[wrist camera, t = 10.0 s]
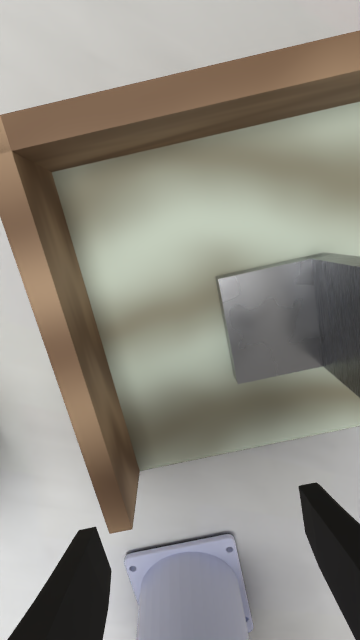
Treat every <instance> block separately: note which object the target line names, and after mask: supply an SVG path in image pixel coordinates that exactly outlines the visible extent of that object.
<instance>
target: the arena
mask: <svg viewBox="0 0 360 640" xmlns="http://www.w3.org/2000/svg"><path fill="white" fill-rule="evenodd" d="M0 217H1V220H2V223H3V226H4V228H5V231H6V234H7V237H8V240H9V243H10V246H11V249H12V252H13V255H14V258H15V260H16V263H17V266H18V269H19V272H20V275H21V278H22V281H23V284H24V287H25V289H26V292H27V295H28V298H29V301H30V304H31V307H32V310H33V313H34V316H35V318H36V321H37V324H38V327H39V330H40V333H41V336H42V339H43V342H44V345H45V348H46V350H47V353H48V356H49V359H50V362H51V365H52V368H53V371H54V374H55V377H56V379H57V382H58V385H59V388H60V391H61V394H62V397H63V400H64V403H65V406H66V409H67V411H68V414H69V417H70V420H71V423H72V426H73V429H74V432H75V435H76V438H77V440H78V443H79V446H80V449H81V452H82V455H83V458H84V461H85V464H86V467H87V470H88V472H89V475H90V478H91V481H92V484H93V487H94V490H95V493H96V496H97V499H98V501H99V504H100V507H101V510H102V513H103V516H104V519H105V522H106V525H107V528H108V531H109V533H110V534H111V533H116V532H121V531H126V530H131V529H132V528H133V520H134V512H135V504H136V496H137V488H138V480H139V472H140V471H143V470H148V469H152V468H157V467H162V466H167V465H172V464H177V463H182V462H187V461H191V460H196V459H201V458H206V457H211V456H216V455H221V454H226V453H230V452H235V451H240V450H245V449H250V448H255V447H260V446H265V445H269V444H274V443H279V442H284V441H289V440H294V439H299V438H304V437H308V436H313V435H318V434H323V433H328V432H333V431H338V430H343V429H348V428H352V427H357V426H360V398H359V397H358V396H357V395H356V394H355V393H353V392H352V391H351V390H350V389H349V388H348V387H346V386H345V385H344V384H343V383H342V382H341V381H339V380H338V379H337V378H336V377H335V376H334V375H332V374H331V373H330V372H329V371H328V370H327V369H325V368H324V367H323V366H322V367H318V368H313V369H308V370H304V371H299V372H294V373H289V374H285V375H280V376H275V377H271V378H266V379H261V380H256V381H252V382H247V383H242V384H237V382H236V379H235V377H234V375H233V369H232V364H231V359H230V353H229V348H228V343H227V337H226V332H225V327H224V322H223V316H222V311H221V306H220V300H219V295H218V290H217V284H216V279H215V276H219V275H223V274H228V273H232V272H237V271H241V270H246V269H250V268H255V267H260V266H264V265H269V264H273V263H278V262H282V261H287V260H291V259H296V258H300V257H305V256H309V255H314V254H318V253H323V252H326V253H334V254H343V255H352V256H360V31H356V32H351V33H347V34H343V35H339V36H334V37H330V38H326V39H322V40H317V41H313V42H309V43H305V44H300V45H296V46H292V47H287V48H283V49H279V50H275V51H270V52H266V53H262V54H258V55H253V56H249V57H245V58H241V59H236V60H232V61H228V62H224V63H219V64H215V65H211V66H207V67H202V68H198V69H194V70H190V71H185V72H181V73H177V74H173V75H168V76H164V77H160V78H156V79H151V80H147V81H143V82H139V83H134V84H130V85H126V86H122V87H117V88H113V89H109V90H105V91H100V92H96V93H92V94H88V95H83V96H79V97H75V98H71V99H66V100H62V101H58V102H54V103H49V104H45V105H41V106H37V107H32V108H28V109H24V110H20V111H15V112H11V113H7V114H2V115H0Z"/></svg>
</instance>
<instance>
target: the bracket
mask: <svg viewBox="0 0 360 640" xmlns="http://www.w3.org/2000/svg"><path fill="white" fill-rule="evenodd" d="M215 279H216V284H217V290H218V295H219V300H220V306H221V311H222V316H223V322H224V327H225V332H226V337H227V343H228V348H229V353H230V359H231V364H232V369H233V375H234V377H235V379H236V382H237V384H242V383H247V382H252V381H256V380H261V379H266V378H271V377H275V376H280V375H285V374H289V373H294V372H299V371H304V370H308V369H313V368H318V367H322V366H323V367H324V368H325V369H327V370H328V371H329V372H330V373H331V374H332V375H334V376H335V377H336V378H337V379H338V380H339V381H341V382H342V383H343V384H344V385H345V386H346V387H348V388H349V389H350V390H351V391H352V392H353V393H355V394H356V395H357V396H358V397H359V398H360V256H352V255H343V254H334V253H326V252H323V253H318V254H314V255H309V256H305V257H300V258H296V259H291V260H287V261H282V262H278V263H273V264H269V265H264V266H260V267H255V268H250V269H246V270H241V271H237V272H232V273H228V274H223V275H219V276H215Z"/></svg>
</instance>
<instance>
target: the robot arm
mask: <svg viewBox="0 0 360 640" xmlns="http://www.w3.org/2000/svg"><path fill="white" fill-rule="evenodd" d="M299 492H300V499H301V506H302V513H303V520H304V527H305V533H306V535H307V538H308V540H309V543H310V546H311V548H312V551H313V553H314V556H315V558H316V561H317V563H318V566H319V568H320V570H321V572H322V574H323V576H324V578H325V580H326V582H327V584H328V586H329V588H330V590H331V592H332V594H333V596H334V598H335V600H336V602H337V604H338V606H339V608H340V610H341V612H342V613H343V615H344V617H345V619H346V621H347V623H348V625H349V627H350V629H351V631H352V633H353V635H354V637H355V639H356V640H360V524H359V523H358V522H357V521H356V520H355V519H354V518H353V517H352V516H351V515H349V514H348V513H347V512H346V511H345V510H344V509H343V508H342V507H341V506H340V505H339V504H338V503H337V502H336V501H335V500H334V499H333V498H332V497H331V496H330V495H329V494H328V493H327V492H326V491H325V490H324V489H323V488H322V487H321V486H320V485H319V484H318V483H311V484H306V485H301V486H299ZM124 564H125V567H126V570H127V573H128V576H129V579H130V582H131V585H132V588H133V591H134V594H135V597H136V600H137V603H138V606H139V613H138V626H137V638H136V640H249V635H248V633H249V632H251V631H252V630H253V622H252V617H251V613H250V608H249V604H248V599H247V594H246V590H245V585H244V581H243V576H242V571H241V567H240V562H239V557H238V553H237V548H236V544H235V539H234V537H233V536H232V535H230V534H225V535H220V536H215V537H210V538H205V539H200V540H195V541H189V542H184V543H179V544H174V545H169V546H164V547H159V548H154V549H149V550H144V551H139V552H134V553H130V554H127V555H126V556H125V560H124ZM110 583H111V568H110V565H109V562H108V560H107V557H106V554H105V551H104V548H103V546H102V543H101V540H100V537H99V534H98V531H97V529H96V527H92V528H88V529H83V530H79V531H78V532H77V534H76V536H75V537H74V539H73V540H72V542H71V544H70V545H69V547H68V548H67V550H66V552H65V553H64V555H63V557H62V558H61V560H60V561H59V563H58V565H57V566H56V568H55V569H54V571H53V573H52V574H51V576H50V577H49V579H48V581H47V582H46V584H45V585H44V587H43V588H42V590H41V591H40V593H39V595H38V596H37V598H36V599H35V601H34V602H33V604H32V605H31V607H30V608H29V610H28V611H27V612H26V614H25V615H24V617H23V618H22V620H21V621H20V623H19V624H18V625H17V627H16V628H15V630H14V631H13V633H12V634H11V635H10V637H9V638H8V640H103V634H104V629H105V623H106V618H107V612H108V605H109V595H110Z"/></svg>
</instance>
